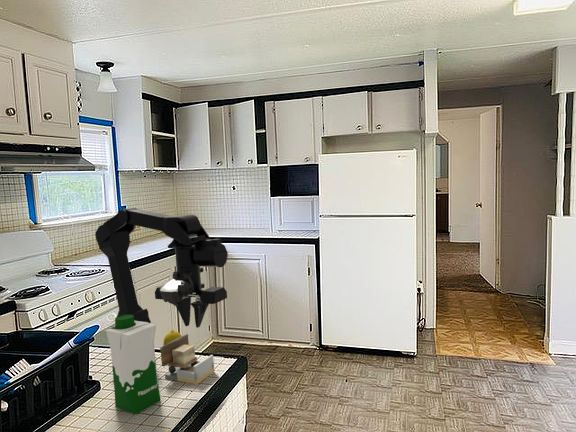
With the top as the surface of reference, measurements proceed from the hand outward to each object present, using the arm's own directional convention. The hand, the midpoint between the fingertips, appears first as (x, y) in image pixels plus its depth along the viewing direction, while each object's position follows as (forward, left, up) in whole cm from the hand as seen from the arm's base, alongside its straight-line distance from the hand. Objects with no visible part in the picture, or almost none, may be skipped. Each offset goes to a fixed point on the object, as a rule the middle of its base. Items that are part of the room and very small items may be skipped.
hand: (192, 326), depth 114 cm
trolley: (-4, +1, -12) cm, 13 cm away
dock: (-2, 0, -13) cm, 13 cm away
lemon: (-12, +11, -13) cm, 21 cm away
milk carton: (-7, -15, -13) cm, 21 cm away
